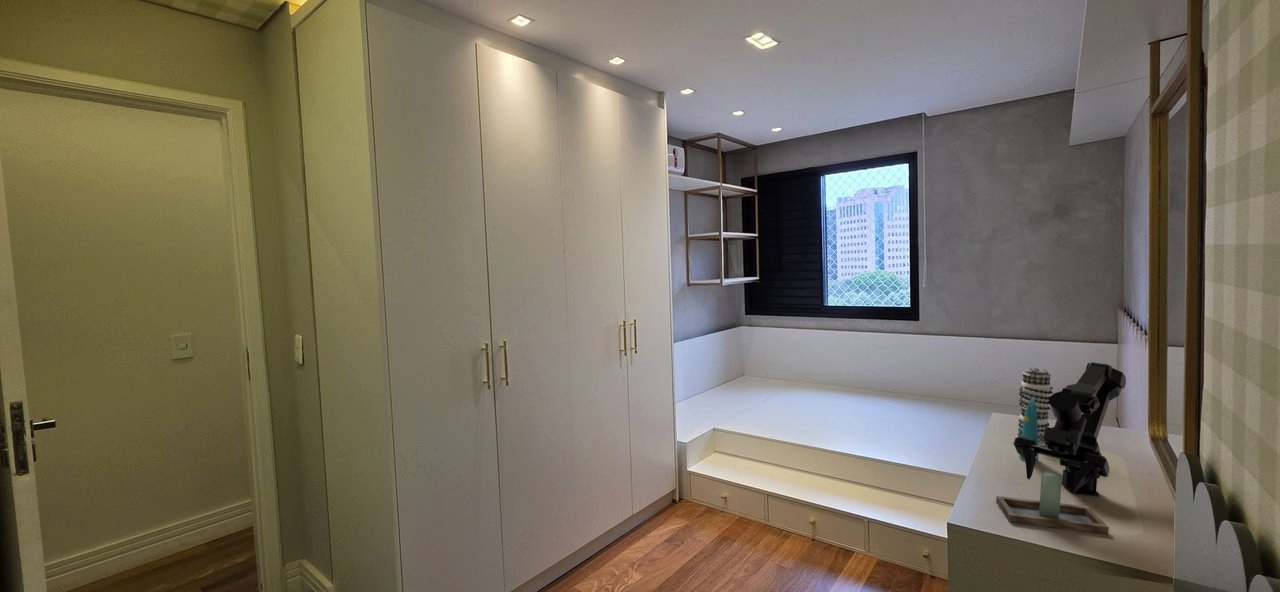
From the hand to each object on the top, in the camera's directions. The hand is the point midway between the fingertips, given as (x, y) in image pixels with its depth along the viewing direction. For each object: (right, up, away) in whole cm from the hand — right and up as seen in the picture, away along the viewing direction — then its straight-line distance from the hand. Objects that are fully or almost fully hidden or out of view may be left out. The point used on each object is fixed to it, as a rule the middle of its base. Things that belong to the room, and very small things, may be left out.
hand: (1049, 485), depth 134 cm
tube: (+21, -5, +37) cm, 42 cm away
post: (+1, -8, +1) cm, 8 cm away
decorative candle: (+33, -3, +51) cm, 61 cm away
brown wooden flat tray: (+1, -9, +1) cm, 9 cm away
